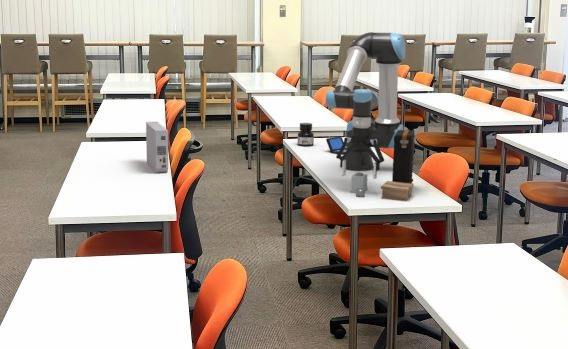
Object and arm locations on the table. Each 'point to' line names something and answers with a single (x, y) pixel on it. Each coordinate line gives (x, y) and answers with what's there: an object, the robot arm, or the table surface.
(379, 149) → the robot arm
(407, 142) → the black carrying case
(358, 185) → the housing
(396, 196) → the stand
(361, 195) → the dark grey metallic dome
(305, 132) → the ink bottle
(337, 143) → the handheld game console
